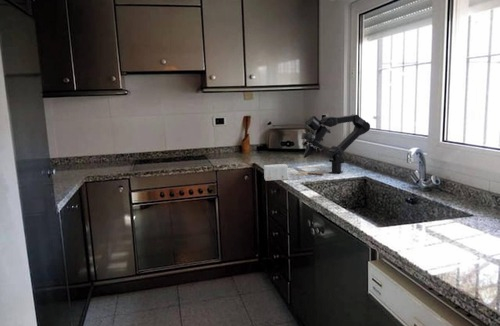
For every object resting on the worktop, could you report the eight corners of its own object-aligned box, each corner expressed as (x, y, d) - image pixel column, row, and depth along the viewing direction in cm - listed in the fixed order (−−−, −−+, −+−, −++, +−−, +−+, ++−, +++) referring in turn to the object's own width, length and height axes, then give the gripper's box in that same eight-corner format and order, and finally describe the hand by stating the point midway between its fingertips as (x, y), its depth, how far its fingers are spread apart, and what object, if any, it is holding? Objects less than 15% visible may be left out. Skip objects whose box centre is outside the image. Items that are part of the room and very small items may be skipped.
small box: (285, 163, 217) (263, 164, 216) (287, 165, 211) (265, 166, 210) (286, 177, 219) (264, 178, 217) (288, 179, 212) (265, 180, 211)
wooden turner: (299, 172, 230) (299, 171, 230) (324, 174, 221) (324, 172, 221) (295, 174, 225) (295, 172, 225) (320, 176, 216) (320, 174, 216)
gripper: (302, 127, 224) (288, 149, 222) (314, 126, 205) (299, 149, 204) (316, 138, 226) (302, 159, 225) (330, 138, 208) (314, 161, 207)
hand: (304, 157), depth 215 cm, fingers closed
